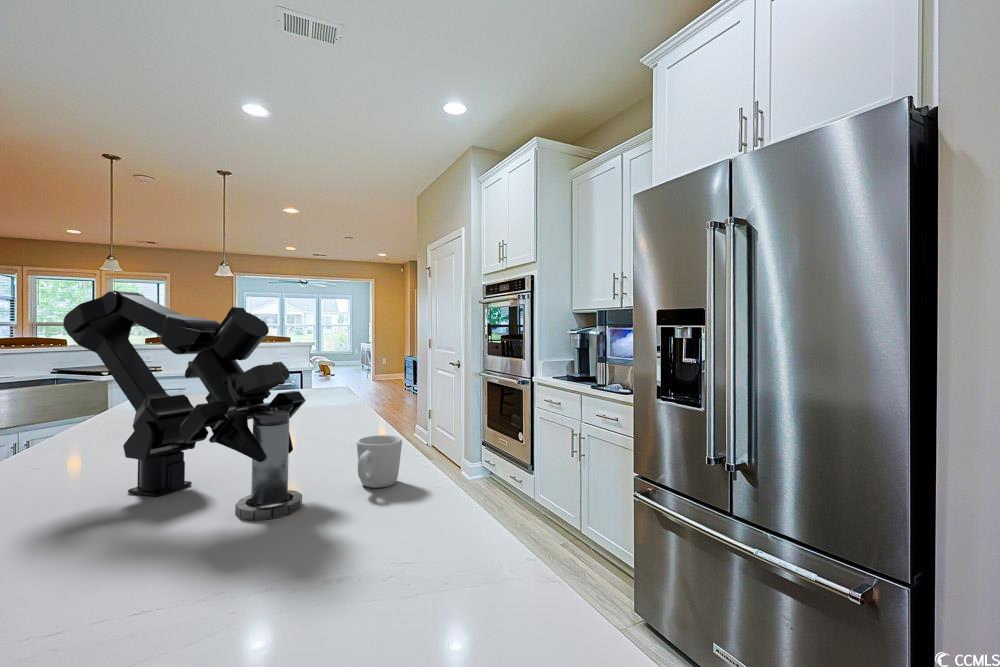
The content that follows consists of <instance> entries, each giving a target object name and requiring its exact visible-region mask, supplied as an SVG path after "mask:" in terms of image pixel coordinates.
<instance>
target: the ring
mask: <svg viewBox="0 0 1000 667" xmlns="http://www.w3.org/2000/svg"><path fill="white" fill-rule="evenodd" d="M280 502H285V503H282V504H278V505H277V504H276V505H274V506H263V507H254V506H256V505H258V504H257V503H253V502H252V501H251V494H248V495H246V496H245V497H242V498H240V499H238V501H237V502H236V503H235V505H234V506H235V508H234V509H235V511H234V512H235V514H234V515H235V516H236V517H237V518H238V519H240V520H245V521H255V522H256V521H257V522H258V521H269V520H274V519H278V518H282V517H283V518H284V517H286V516H289V515H292V514H293V513H295V512H297V511H299V510H300V509H301V508H302V505H303V494H302V493H300V492H299V491H298V490H290V489H288V496H287V498H285V499H284V500H281V501H280Z"/></svg>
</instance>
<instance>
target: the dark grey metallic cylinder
mask: <svg viewBox="0 0 1000 667" xmlns="http://www.w3.org/2000/svg"><path fill="white" fill-rule="evenodd" d="M289 432H290V419H289V412H288V411H263V412H257V413H254V414H253V419H252V434H253V435H254V437H255V439H256V440H257V442H258V443H259V445H260V447H261V448H262V450H263V452H264V454H265V457H266V458H265V459H264V461H263V462H258V461H256V460H254V459H252V458H251V485H250V486H251V489H250V490H251V491H250V492H251V494H250V495H251V501H252V502H253V503H257V504H256V505H267V504H273V503H278V502H282V501H281V500H284V499H285V498H287V496H288V490H289V488H288V487H289V454H290V453H289Z"/></svg>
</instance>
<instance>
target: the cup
mask: <svg viewBox="0 0 1000 667" xmlns="http://www.w3.org/2000/svg"><path fill="white" fill-rule="evenodd" d="M402 447H403V439H402V438H401V437H400V436H396V435H389V434H383V435H381V434H380V435H378V434H377V435H369V436H364V437H361V438H359V439H358V440H357V441H356V449H357V450H356V452H357V461H358V462H357V475H358V478H359V480H360V483H361V485H363V486H364V487H367V488H373V489H374V488H376V489H378V488H379V489H380V488H385V487H390V486H392V485H393V484H395V483H396V482H397V481H398V478H399V471H400V464H401V455H402V454H401V453H402Z"/></svg>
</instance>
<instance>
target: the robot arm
mask: <svg viewBox="0 0 1000 667" xmlns="http://www.w3.org/2000/svg"><path fill="white" fill-rule="evenodd" d="M136 325H138V326H141V327H142V328H145V329H147V330H149V331H151V332H152V333H154V334H156V335H157V336H159V337H160V339H159V340H160V343H161V344H162V345H163V346H164V347H165V348H166V349H167V350H169V351H170V352H171V353H173V354H174V355H196V356H195V357H194V358H193V360H192V361H191V360H189V361H188V362H187V364H188V365H187V368H186V370H185V371H184V377H185V378H186V379H194V378H199V379H200V381H201V382H202V385H203V386H204V387H205V389H206V391H208V394H207V395H206V397H205V400H206V402H207V403H198V404H196V405H195V407H194V406H193V405H192V403H191V401H190V399H189V398H188V396H186V395H185V394H175V395H170V394H168V393H167V392H166V391H165V389H164V388H163V386H162V385H161V383H160V382H159V381H158V379H157V378H156V377H155V376H156V375H154V374H153V372H152V370H151V369H150V368H149V366H148V365H147V363H146V362H145V361H144V359H143V358H142V356H141V355H140V354H139V353H138V351H137V349H136V348H135V346H134V345H133V344H132V342H131V341H130V339H129V338H130V335H131V331H132V328H133V327H134V326H136ZM63 329H64V330H65V331H66V334H68V336H69V337H70V338H71V339H72V340H73V342H75V344H77V346H79V347H82V348H84V349H86V350H88V351H91V352H94V353H95V354H97V356H98V357H99V359H100V360H101V362H102V363H103V364H104V366H105V368H106V369H107V370H108V372H109V374H110V375H111V377H112V378H113V379H114V381H115V382H116V384H117V385H118V387H119V388H120V389H121V391H122V393H123V394H124V395H125V397H126V399H127V400H128V401H129V403H130V404H131V406H132V408H133V409H134V411H135V414H134V419H133V422H132V423H133V424H132V429H133V432H132V433H131V434H130V436H129V437H128V438H127V440H126V441H125V442H124V443H123V452H124V457H125V458H127V459H132V460H133V459H134V460H137V483H136V484H137V486H136V487H132V488H128V489H127V493H128V494H134V495H135V494H136V495H141V496H143V495H144V496H151V497H160V496H162V495H164V494H167V493H170V492H174V491H176V490H181V489H183V488H186V487H188V486H192V484H193V483H192V481H189V480H186V479H185V478H186V472H185V471H186V462H185V452H184V451H188V450H193V449H196V448H195V447H196V444H197V442H202V441H205V440H206V438H208V434H209V432H210V431H209V430H208V429H207V428H209V427H210V429H211V432H212V435H211V436H210V437H209V439H208V442H209V443H210V444H214V443H217V444H219V445H222V446H224V447H226V448H229V449H232V450H234V451H235V452H238V453H240V454H242V455H244V456H246V457H248V458H250V459H251V460H252V459H254V460H256V461H258V462H263V461H264V459H265V458H266V457H265V454H264V452H263V450H262V448H261V447H260V445H259V443H258V442H257V440H256V439H255V437H254V435H253V431H251V429H250V427H249V423H248V422H249V421H248V420H253V414H254V413H257V412H263V411H288V412H289V420H290V419H291V418H292V417H293V416H294V415H295V413H297V411H298V410H299V409H300V408H301V407H302V406H303V404H305V402H306V399H305V397H304V396H303V394H302V393H301V392H300V391H299V390H290V391H284V392H278V393H277V394H276V395H275V396H274V398H272V400H271V401H270V402H265V401H264V400H265V399H268V398H269V397H270V396H271V395H272V392H271V389H273V388H276V387H277V386H279V385H280V386H282V385H284V384H286V381H287V380H288V379H290V377H291V376H290V371H289V368H288V367H287V366H286V365H285V363H283V362H282V361H275V362H274V361H273V362H272V363H271V364H270V363H269V364H259V365H255V366H253V367H251V368H249V369H248V370H246V371H244V370H243V368H242V367H241V366H240V364H239V362H238V361H243V360H247V359H249V358H250V357H251V355H252V354H253V352H255V350H256V349H257V348H258V346H259V345H260V344H261V343H262V341H263V340H264V339H265V338H266V336H267V335H268V334H269V331H270V329H269V327H268V324H267V322H265V321H264V320H261V318H259V317H258V316H256V315H255V314H252V313H250V312H247V311H246V309H245V308H244V307H238V306H237V307H236V306H235V307H234V306H232V307H231V308H229V311H228V312H227V315H226V316H225V318H224V319H223V320H222V321H221V323H219V322H218V321H216V320H213V319H208V318H204V317H199V316H198V317H197V316H191V315H184V314H181V313H179V312H177V311H174V310H173V309H170V308H168V307H166V306H165V305H163V304H160V303H158V302H155V301H153V300H151V299H150V298H147V297H146V296H145V295H144V294H141V293H140V292H134V291H127V290H126V291H125V290H115V289H114V290H112V291H108V292H106V293H104V294H103V295H102V296H100V297H98V298H94V299H91V300H89V301H84V302H82V303H80V304H78V305H76V306H75V307H74V308H72V310H70V311H68V313H66V314H65V316H64V318H63ZM293 451H294V447H293V442H292V438H291V433H290V431H289V454H291V453H292V452H293Z"/></svg>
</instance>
